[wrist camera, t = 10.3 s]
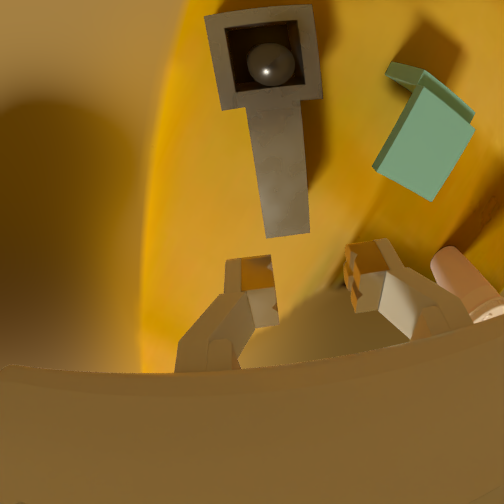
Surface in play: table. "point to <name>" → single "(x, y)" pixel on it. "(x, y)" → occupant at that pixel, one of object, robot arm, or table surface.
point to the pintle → (270, 63)
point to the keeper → (424, 133)
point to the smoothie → (466, 284)
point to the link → (273, 110)
